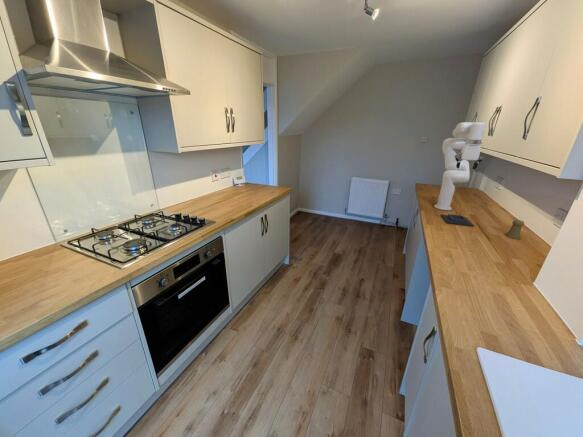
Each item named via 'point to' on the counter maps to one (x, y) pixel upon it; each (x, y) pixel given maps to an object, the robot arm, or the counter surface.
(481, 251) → the counter surface
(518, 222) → the olive green tapered piece
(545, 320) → the counter surface
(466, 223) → the pad
